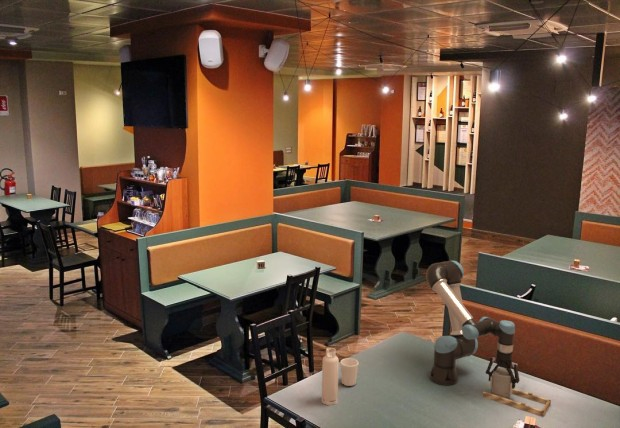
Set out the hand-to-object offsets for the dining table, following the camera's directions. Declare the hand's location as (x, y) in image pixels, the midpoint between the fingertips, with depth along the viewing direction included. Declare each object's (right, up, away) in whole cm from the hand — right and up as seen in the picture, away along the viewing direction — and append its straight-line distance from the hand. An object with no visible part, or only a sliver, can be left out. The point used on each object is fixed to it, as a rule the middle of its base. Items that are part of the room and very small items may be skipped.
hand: (501, 390), depth 284 cm
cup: (-79, 0, +10) cm, 80 cm away
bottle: (-90, -3, -8) cm, 91 cm away
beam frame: (+6, -4, -4) cm, 9 cm away
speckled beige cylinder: (0, -2, 0) cm, 2 cm away
